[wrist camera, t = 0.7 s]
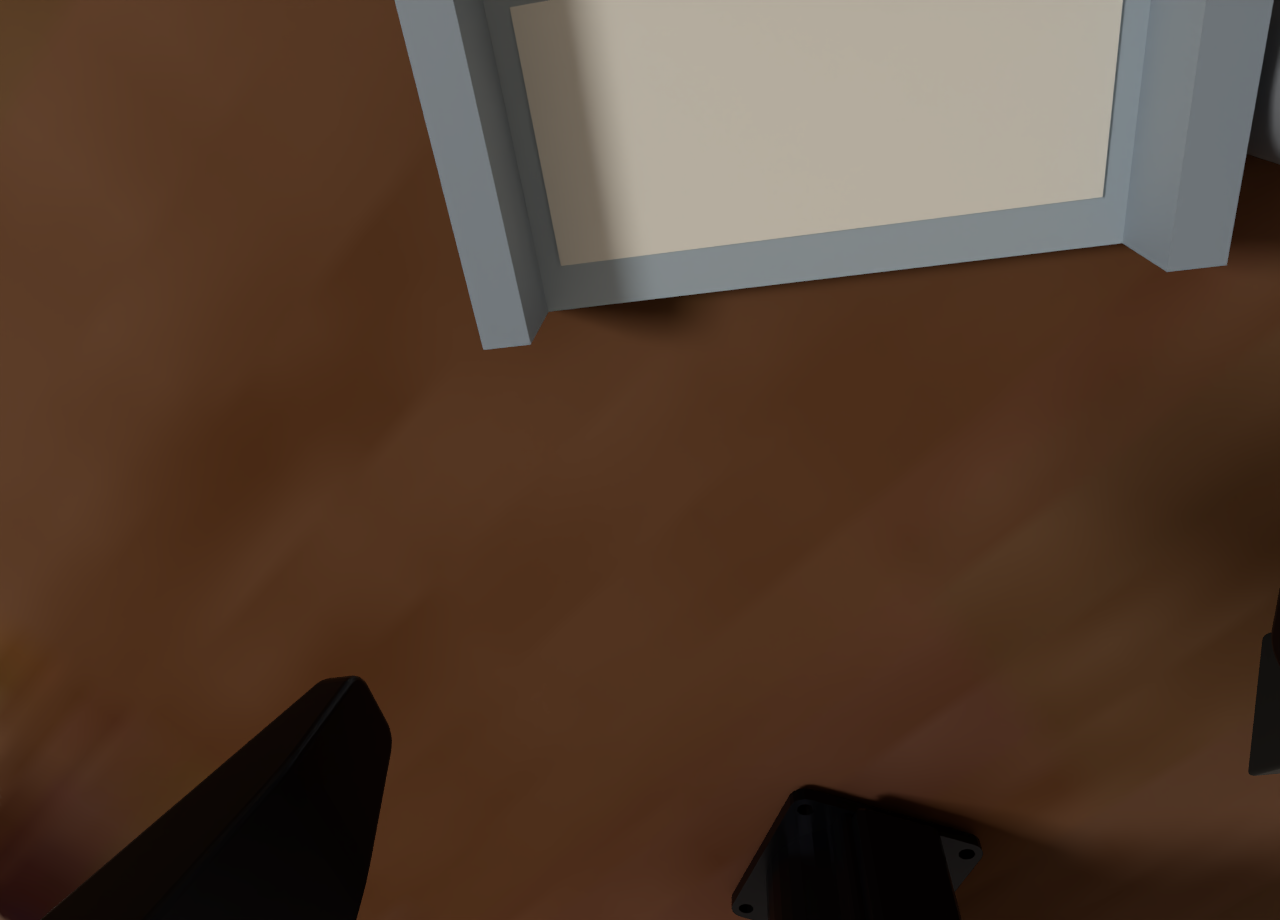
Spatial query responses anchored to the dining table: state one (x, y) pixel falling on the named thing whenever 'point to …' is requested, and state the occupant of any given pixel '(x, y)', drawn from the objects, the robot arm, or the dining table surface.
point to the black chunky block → (1266, 715)
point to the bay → (828, 138)
